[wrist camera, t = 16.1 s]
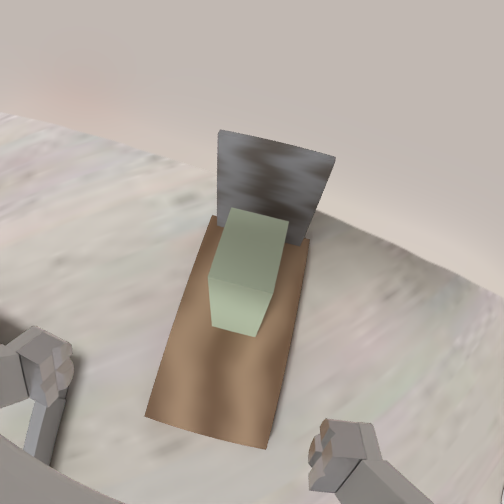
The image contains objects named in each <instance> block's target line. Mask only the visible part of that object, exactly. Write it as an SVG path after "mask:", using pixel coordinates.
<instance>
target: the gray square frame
mask: <svg viewBox="0 0 504 504" xmlns="http://www.w3.org/2000/svg"><path fill="white" fill-rule="evenodd" d="M67 390H68V387H67V388H66V389H63V390H59V391H58V396H59V397H58V398H57V399H56V400H55V401H54V402H53V403H52V404H51V405H50V406H49V407H48V408H47V407H46V406H44V405H42V404H40V403H38V402H36V401H35V404H34V407H33V411H32V415H31V419H30V423H29V427H28V431H27V435H26V439H25V444H24V448H23V450H24V451H25V452H27V453H29V454H30V455H32V456H33V457H35V458H36V459H38V460H40V461H41V462H43V463H45V464H46V465H48V466H49V465H50V461H51V457H52V452H53V448H54V444H55V440H56V436H57V432H58V428H59V424H60V421H61V417H62V413H63V410H64V406H65V403H66V399H65V396H66V393H67Z"/></svg>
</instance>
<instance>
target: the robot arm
mask: <svg viewBox="0 0 504 504" xmlns="http://www.w3.org/2000/svg"><path fill="white" fill-rule="evenodd" d="M72 354H73V352H72V345H71V344H70V343H69V342H67V341H65V340H63V339H61V338H59V337H57V336H55V335H53V334H51V333H49V332H47V331H45V330H43V329H41V328H39V327H38V326H32V327H31V328H29V329H28V330H26V331H25V332H24V333H22V334H21V335H19V336H18V337H17V338H15V339H14V340H12V341H11V342H10V343H8V344H7V345H6V346H5V345H3V344H0V408H3V407H6V406H9V405H11V404H14V403H17V402H20V401H23V400H25V399H28V397H29V398H31V399H33V400H35V401H36V402H38V403H40V404H42V405H44V406H46V407H47V408H48V407H49V406H50V405H51V404H52V403H53V402H54V401H55V400H56V399H57V398H58V397H59V396H58V391H59V390H63V389H66V388H67V387H68V385H69V384H70V383H71V380H72V378H73V374H74V364H73V362H72V361H71V359H70V356H71V355H72ZM308 463H309V465H310V466H311V467H312V469H311V471H310V473H309V490H310V491H318V492H328V493H335V495H336V497H337V498H338V500H339V501H340V502H341V504H434V503H433V502H432V501H431V500H430V499H429V498H427V497H426V496H425V495H424V494H423V493H422V492H421V491H420V490H418V489H417V488H416V487H415V486H414V485H413V484H412V483H411V482H410V481H408V480H407V479H406V478H405V477H404V476H403V475H402V474H401V473H400V472H399V471H397V470H396V469H395V468H394V467H393V466H392V465H391V464H390V463H389V462H388V461H383V459H382V456H381V452H380V448H379V444H378V441H377V437H376V433H375V430H374V426H373V425H372V424H371V423H363V422H351V421H342V420H334V419H327V418H326V419H325V420H324V421H323V422H322V424H321V426H320V434H318V435H316V436H315V437H314V439H313V441H312V443H311V446H310V449H309V454H308ZM0 504H125V503H123V502H120V501H118V500H116V499H113V498H111V497H109V496H106V495H104V494H102V493H100V492H97V491H95V490H93V489H91V488H89V487H87V486H85V485H83V484H81V483H79V482H77V481H75V480H73V479H71V478H69V477H67V476H66V475H64V474H62V473H60V472H58V471H57V470H55V469H53V468H51V467H50V466H48V465H46V464H45V463H43V462H41V461H40V460H38V459H36V458H35V457H33V456H32V455H30V454H29V453H27V452H25V451H24V450H22V449H21V448H19V447H18V446H17V445H15V444H14V443H12V442H11V441H9V440H8V439H7V438H5V437H4V436H2V435H1V434H0ZM502 504H504V491H503V496H502Z"/></svg>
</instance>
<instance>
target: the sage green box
mask: <svg viewBox="0 0 504 504" xmlns="http://www.w3.org/2000/svg"><path fill="white" fill-rule="evenodd" d="M288 224H289V221H285V220H281V219H277V218H273V217H269V216H265V215H261V214H257V213H253V212H249V211H244V210H240V209H236V208H232V207H231V210H230V213H229V215H228V218H227V221H226V224H225V227H224V230H223V233H222V236H221V239H220V241H219V244H218V247H217V250H216V253H215V256H214V259H213V262H212V265H211V268H210V271H209V274H208V287H209V298H210V310H211V320H212V326H214V327H217V328H221V329H225V330H228V331H232V332H236V333H240V334H244V335H248V336H252V337H256V334H257V332H258V330H259V327H260V325H261V322H262V320H263V317H264V315H265V313H266V310H267V308H268V305H269V303H270V300H271V298H272V295H273V292H274V288H275V283H276V279H277V274H278V270H279V266H280V261H281V256H282V252H283V247H284V243H285V238H286V233H287V229H288Z"/></svg>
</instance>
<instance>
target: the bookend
mask: <svg viewBox="0 0 504 504" xmlns="http://www.w3.org/2000/svg"><path fill="white" fill-rule="evenodd" d="M217 155H218V156H217V216H214V215H212V217H211V219H210V222H209V225H208V227H207V230H206V233H205V235H204V238H203V241H202V244H201V246H200V249H199V252H198V255H197V257H196V260H195V263H194V266H193V268H192V271H191V274H190V277H189V280H188V282H187V285H186V288H185V291H184V294H183V297H182V300H181V303H180V306H179V308H178V311H177V314H176V317H175V320H174V323H173V326H172V329H171V332H170V335H169V338H168V342H167V345H166V348H165V351H164V354H163V357H162V360H161V363H160V366H159V370H158V373H157V376H156V379H155V383H154V386H153V389H152V392H151V396H150V399H149V402H148V406H147V409H146V413H145V417H148V418H151V419H153V420H156V421H159V422H162V423H165V424H168V425H171V426H174V427H178V428H181V429H184V430H187V431H191V432H194V433H198V434H201V435H205V436H209V437H212V438H216V439H220V440H224V441H228V442H232V443H237V444H241V445H246V446H250V447H255V448H260V449H265V450H266V448H267V444H268V440H269V436H270V432H271V428H272V424H273V420H274V416H275V411H276V407H277V403H278V399H279V394H280V390H281V385H282V381H283V376H284V372H285V367H286V363H287V358H288V353H289V349H290V344H291V339H292V334H293V329H294V324H295V319H296V314H297V309H298V304H299V298H300V293H301V287H302V282H303V276H304V271H305V265H306V259H307V254H308V248H309V242H310V239H306V238H304V236H305V234H306V232H307V229H308V227H309V224H310V222H311V220H312V217H313V215H314V213H315V210H316V208H317V205H318V203H319V200H320V198H321V196H322V193H323V191H324V188H325V186H326V183H327V181H328V178H329V176H330V173H331V171H332V168H333V166H334V163H335V157H334V156H330V155H327V154H323V153H320V152H316V151H312V150H308V149H304V148H300V147H297V146H293V145H289V144H284V143H281V142H276V141H272V140H268V139H263V138H259V137H254V136H250V135H245V134H240V133H235V132H230V131H225V130H220V131H219V133H218V153H217ZM231 207H232V208H236V209H240V210H244V211H249V212H253V213H257V214H261V215H265V216H269V217H273V218H277V219H281V220H285V221H289V224H288V229H287V233H286V238H285V243H284V247H283V252H282V256H281V261H280V266H279V270H278V274H277V279H276V283H275V288H274V292H273V295H272V298H271V300H270V303H269V305H268V308H267V310H266V313H265V315H264V317H263V320H262V322H261V325H260V327H259V330H258V332H257V334H256V337H252V336H248V335H244V334H240V333H236V332H232V331H228V330H225V329H221V328H217V327H214V326H212V320H211V310H210V298H209V287H208V274H209V271H210V268H211V265H212V262H213V259H214V256H215V253H216V250H217V247H218V244H219V241H220V239H221V236H222V233H223V230H224V227H225V224H226V221H227V218H228V215H229V213H230V210H231Z"/></svg>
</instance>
